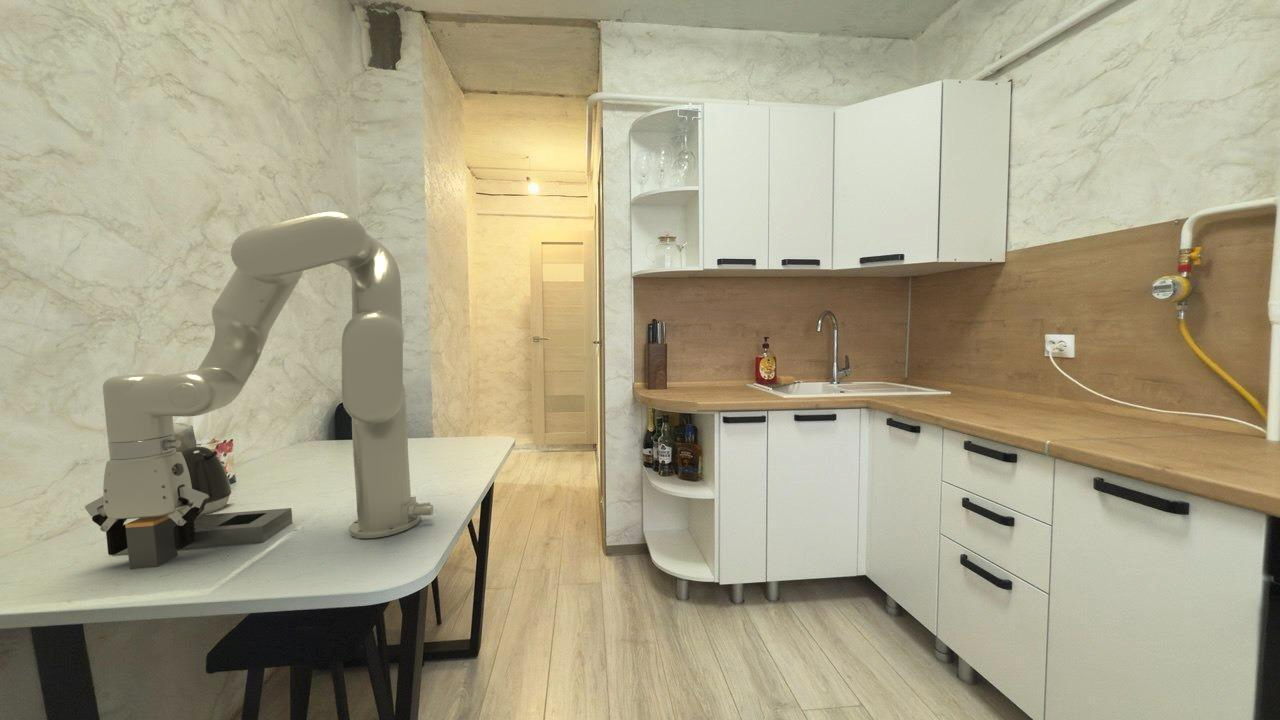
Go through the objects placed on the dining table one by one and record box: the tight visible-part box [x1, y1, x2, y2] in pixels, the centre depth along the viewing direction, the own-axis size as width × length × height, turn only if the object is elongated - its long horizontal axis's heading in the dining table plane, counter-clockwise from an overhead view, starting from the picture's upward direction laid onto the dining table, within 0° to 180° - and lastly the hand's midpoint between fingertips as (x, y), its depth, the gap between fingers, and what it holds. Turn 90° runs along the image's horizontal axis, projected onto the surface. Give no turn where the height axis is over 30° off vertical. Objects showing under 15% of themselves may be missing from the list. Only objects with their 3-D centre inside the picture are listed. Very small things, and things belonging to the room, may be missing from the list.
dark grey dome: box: [182, 446, 232, 515], centre depth 102 cm, size 10×10×15 cm
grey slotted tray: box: [111, 507, 293, 556], centre depth 88 cm, size 24×9×4 cm, turn 98°
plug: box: [124, 515, 179, 570], centre depth 78 cm, size 4×4×9 cm
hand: (152, 548), depth 78 cm, fingers open, 9 cm apart
